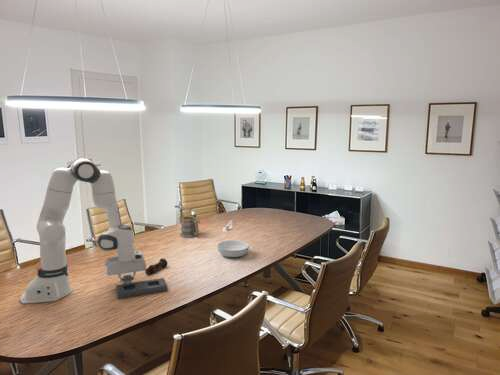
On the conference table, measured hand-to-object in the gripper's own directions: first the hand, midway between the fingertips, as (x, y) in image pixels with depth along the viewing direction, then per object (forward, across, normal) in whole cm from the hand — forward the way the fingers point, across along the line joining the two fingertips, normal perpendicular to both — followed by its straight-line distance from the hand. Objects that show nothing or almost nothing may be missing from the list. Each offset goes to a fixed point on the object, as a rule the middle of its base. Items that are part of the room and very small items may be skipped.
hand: (127, 280), depth 198 cm
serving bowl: (+2, +68, +20) cm, 71 cm away
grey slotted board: (+2, +6, -12) cm, 14 cm away
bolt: (+2, +17, +12) cm, 21 cm away
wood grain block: (+2, 0, 0) cm, 2 cm away
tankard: (+2, +53, +71) cm, 89 cm away
